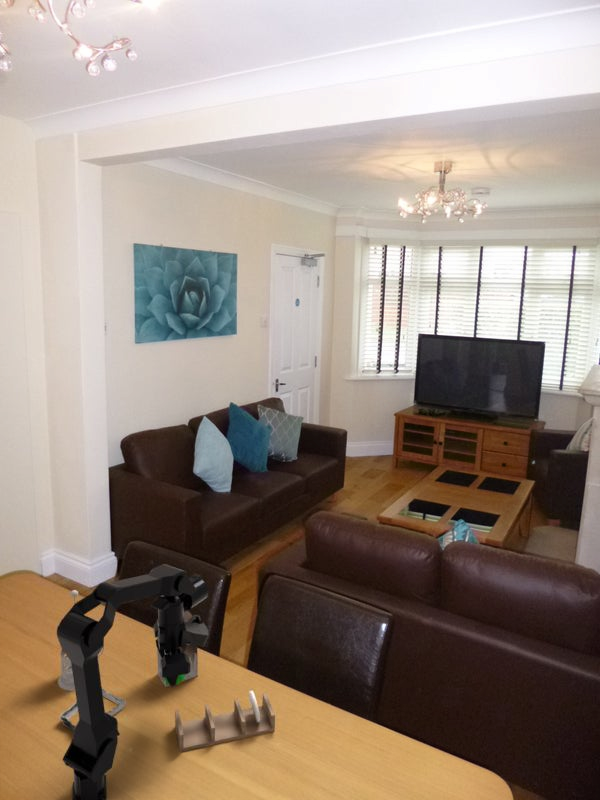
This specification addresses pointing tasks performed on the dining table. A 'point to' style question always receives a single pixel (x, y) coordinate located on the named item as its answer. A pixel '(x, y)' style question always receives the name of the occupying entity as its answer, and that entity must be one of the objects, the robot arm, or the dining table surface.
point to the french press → (68, 665)
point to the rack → (224, 726)
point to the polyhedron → (179, 680)
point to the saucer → (254, 706)
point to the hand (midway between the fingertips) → (171, 678)
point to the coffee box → (190, 651)
